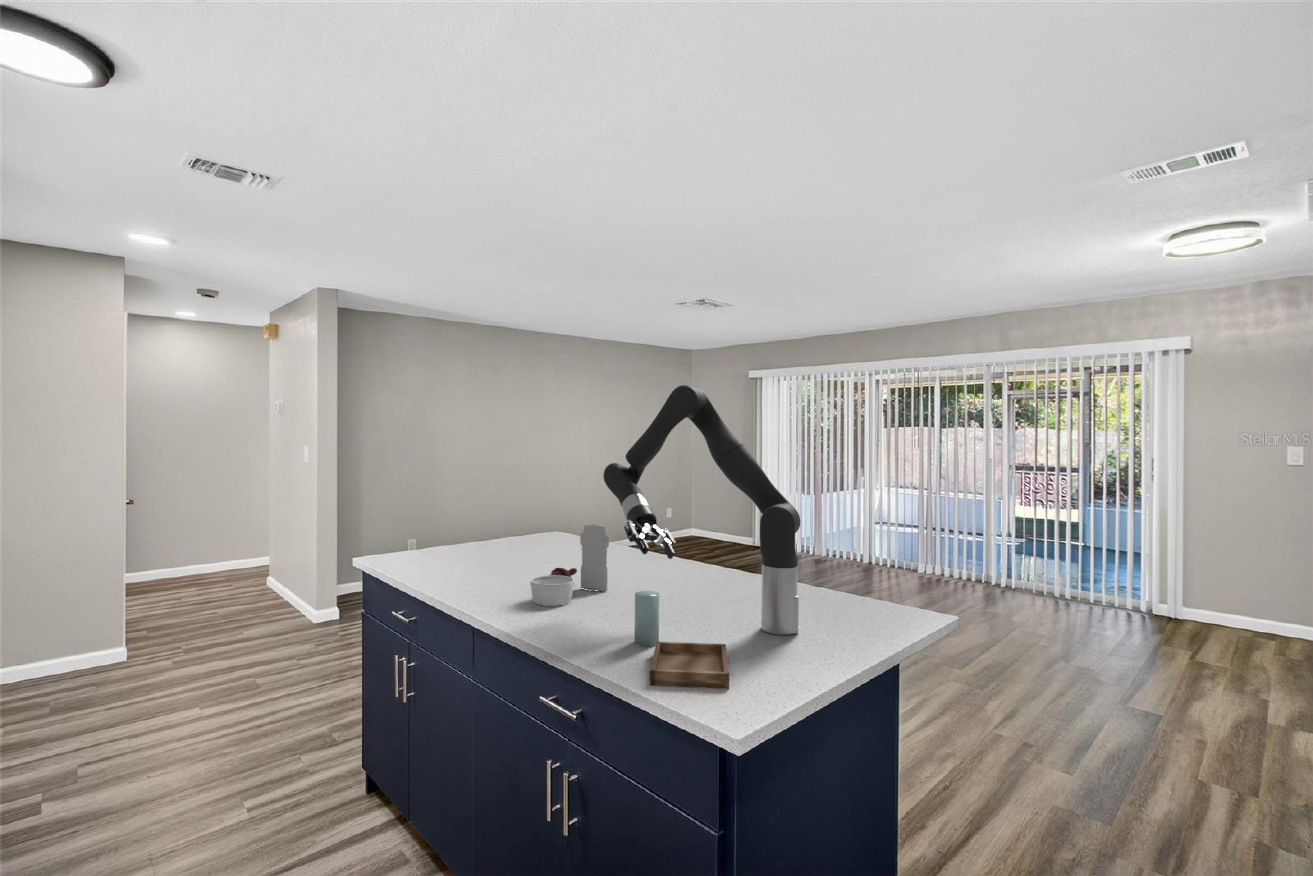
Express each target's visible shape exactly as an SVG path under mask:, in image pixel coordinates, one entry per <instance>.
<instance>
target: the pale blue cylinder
mask: <svg viewBox="0 0 1313 876" xmlns="http://www.w3.org/2000/svg"><path fill="white" fill-rule="evenodd" d="M633 634H634V637H633V638H634V642H633V643H634V645H636V646H638V647H642V646H647V647H646V648H649V647H648V646H652V647H655V646H656V642H660V641H659V640H660V639H659V638H660V637H659V636H660V593H659V592H658V591H655V590H654V591H653V590H641V591H637V592H635V593H634V633H633Z"/></svg>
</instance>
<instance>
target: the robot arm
mask: <svg viewBox="0 0 1313 876" xmlns="http://www.w3.org/2000/svg"><path fill="white" fill-rule="evenodd" d="M686 418H687V419H689V420H690V421H691V422H692V423H693V425H694V426H695V427H696V428H697V429H698V430H699V432H700V433H701V434H702V436H703V438H704V440H705V442H706V444H707V447H708V451H709V452H710V455H711V458H712V459H713V461H714V462H715V464H716V466H717V467H718V468H719V469H720V470H721V472H722V473H723V474H724V476H725V477H726V478H727V479H728V481H730V482H731V484H733V485H734V486H735V487H736V488H737V489H739V490H740V491H741V492H742V493H743V494H745V495H746V496H747V497H749V499H750V500H751V501H752V502H753V503H754V504H755V506H756V507H757V508H758V510H759V512H760V514H761V517H760V520H759V547H760V548H759V551H760V554H761V555H760V556H761V562H762V563H761V564H762V565H761V619H760V620H761V630H762V631H763V632H765V633H767V634H768V633H769V634H770V635H771V634H772V635H777V636H778V635H780V636H781V635H782V636H784V635H787V636H788V635H793V634H799V607H800V606H799V601H800V597H799V596H798V570H799V568H798V566H799V564H798V562H799V558H798V555H797V554H798V553H797V552H796V533H797V532H798V530H799V529H800V527H801V516H800V514H799V512H798V510H797V509H796V507H794V505H793V504H791V502H790V501H789V500H787V498H786V497H785V496H784V495H783V494H782V493H781V492H780V491H779V490H778V489H777V488H776V487H775V486H774V484H773V482H771V480H770V479H769V477H768V476H767V474H766V473H765V471H764V470H763V469H762V467H761V466H760V464H759V462H757V460H756V459H755V457H754V456H753V454H751V452H750V451H749V450H748V448H747V447H746V446H745V444H744V443H743V442H742V441H741V440H740V439H739V438H738V436H737V435H736V434H735V433H734V431H733V430H732V429H731V428H730V426H728V424H727V423H726V421H724V419H723V418H722V417H721V416H720V414H719V413H718V411H717V409H716V408H715V406H714V405H713V403H712V402H711V400H710V398H709V396H708V395H707V393H706V392H705V391H704V390H703V389H701V388H700V387H698V386H694V385H688V384H682V385H678V386H677V387H676V388H674V389H673V390H672V392H670V394H669V396H668V397H667V399H666V400H665V402H664V404H663V406H662V407H661V409H660V410H659V411H658V413H657V415H656V416H655V418H654V419H653V420H652V422H651V424H649V426H648V427H647V429H646V430H645V431H644V432H643V433H642V435H641V436H640V437H639V438H638V439H637V440H636V442H635V443H634V444H633V445H632V446H631V447H630V448H629V450H628V451H627V452H626V455H625V459H626V462H627V463H628V464H629V465H630V466H629V467H627V466H625V465H622V464H620V463H617V462H613V463H610V464H608V465H606V466H605V468H604V471H603V480H604V483H605V485H606V487H607V488H608V490H609V491H611V493H612V494H613V495H614V496H615V497H616V498H617V500H618V502H619V505H620V506H621V508H622V511H623V512H622V513H624V516H625V519H626V520H627V522H626V523H625V525H624V527H623V529H624V531H625V534H626V536H627V539H628V541H629V542H630V543H633V542H634V543H635V544H636V545H637V546H638V548H639V551H641V553H642V555H647V554H648V552H649V551H650V547H649V545H648V543H647V541H649V542H653V543H654V544H655V545H656V546H659V547H661V548H662V550H664V553H665V554H666V556H667V559H670V560H672V559H673V558H674V556H675V554H676V552H675V550H674V548H673V547H674V545H675V544H676V543H677V542H676V540H675V539H674V537H673V535H672V533H671V532H670V530H669V529H668V528H667V527H665V528H663V529H661V528H660V527H658V523H657V517H656V514H655V513H654V511H653V509H652V507H651V506H650V503H649V501H648V500H647V499H646V498H645V496H644V493H643V492H642V491H641V489H640V487H639V486H638V483H639V482H640V479H641V477H642V475H643V473H644V471H645V469H646V467H648V465H649V464H650V463H651V461H652V460H653V459H654V458H655V457H656V456H657V455H658V454H659V452H660V451H661V450H662V449H663V445H664V444H665V442H666V440H667V438H668V436H669V435H670V433H671V432H672V431H673V430H674V428H675V427H676V426H677V425H679V424H680V423H681V422H682V421H683V420H684V419H686ZM659 537H660V538H659ZM658 539H659V540H658ZM663 542H664V543H663Z"/></svg>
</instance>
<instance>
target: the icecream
mask: <svg viewBox="0 0 1313 876" xmlns="http://www.w3.org/2000/svg"><path fill="white" fill-rule="evenodd" d="M577 572H578V570H577V567H576V568H575V567H572V568H570V569H569V570H567V569H566V568H564V567H556V568H554V569H553V570H552V571H551V572H550V574H549V575H560V576H568V577H571V578H573V577H572V576H573V575H576V574H577Z"/></svg>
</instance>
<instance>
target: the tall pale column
mask: <svg viewBox="0 0 1313 876" xmlns="http://www.w3.org/2000/svg"><path fill="white" fill-rule="evenodd" d="M583 525H584V526H583V530H582V532H581V533H580V538H579V539H580V540H579V541H580V545H581V567H580V589H581V588H584V589H588V590H591V591H590V592H592V591H595V590H598V591H607V592H608V566H607V564H608V562H607V561H608V548H609V547H610V536H609V535H608V533H607V529H606V525H602V524H597V523H589V524H583ZM595 592H596V591H595Z"/></svg>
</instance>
